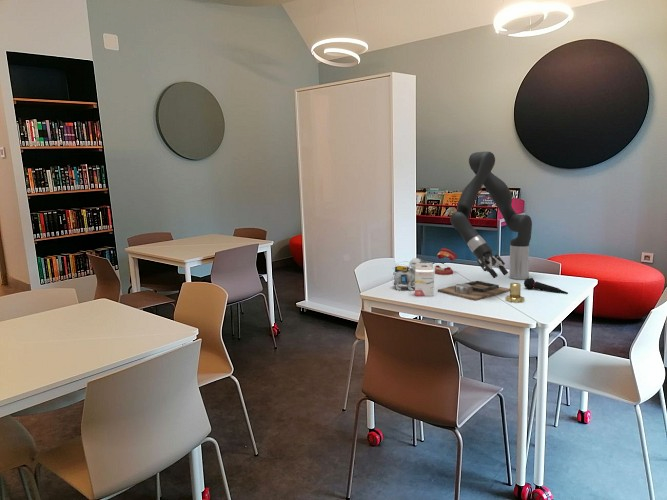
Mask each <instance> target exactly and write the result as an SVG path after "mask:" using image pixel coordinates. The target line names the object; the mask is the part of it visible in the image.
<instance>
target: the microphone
mask: <svg viewBox="0 0 667 500" xmlns="http://www.w3.org/2000/svg"><path fill="white" fill-rule="evenodd" d="M523 285H524V287H525V288H526V289H527V290H531V289H535V290H539V291H544V292H548V293H549V292H550V293H554V294H565V295H568V294H569V292H567V291H565V290H562V289H560V288H558V287H555V286H553V285H550V284H549V285H548V284H546V283H542V282H539V281H535V279H534V278H533V277H530V278H529V277H528V278H527V279H524V281H523Z"/></svg>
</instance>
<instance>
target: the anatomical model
mask: <svg viewBox="0 0 667 500" xmlns="http://www.w3.org/2000/svg"><path fill="white" fill-rule="evenodd" d="M447 257H448V259H449V260H450V261H454V260H457V258H458V255H457V254H456V253H455V252H454V251H452V250H451V249H448V248H445V247H442V248H441V249H440V250H439V252H438V253H437V258H438V259H439V260H442V259H445V258H447ZM453 274H454V271H453V269H452V268H451V267H450V266H447V267H444V268H442V267H441V266H440V265H437V264H436V266H435V267H434V275H440V276H450V275H451V276H452V275H453Z"/></svg>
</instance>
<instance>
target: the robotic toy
mask: <svg viewBox="0 0 667 500" xmlns="http://www.w3.org/2000/svg"><path fill="white" fill-rule="evenodd" d="M405 262H406V263H408V262H409V264H408V265H403V264H400V263H397V265H395V267H392V269H393V270H394V272H393V273H392V275H393V276H392V278H391V279H393V280H394V281H393V285H394V287H395V289H396V291H402V288H401V287H403V286H407V288H408V290H409V291H410V292H413V291H414V288H412V287H413V286H414V287H415V269H416V263H427V260H423V259H421V258H418V257H415V258H412V259H411V260H410V261H406V260H405V261H404V260H403V261H402V263H405ZM421 267H427V266H425V265H423V266H421ZM399 286H401V287H399Z"/></svg>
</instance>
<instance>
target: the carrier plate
mask: <svg viewBox="0 0 667 500" xmlns="http://www.w3.org/2000/svg"><path fill="white" fill-rule="evenodd" d="M437 292H438V293H440V294H441V293H442V294H445V295H450V296H453V297H454V296H455V297H458V298H463V299H466V300H471V301H475V302H476V301H479V300H482V299H483V300H484V299H486V298H491V297H494V296H497V295H501V294H505V293H510V288H508V287H502V286H500V285H499V284H494V283H490V282H485V281H480V280H475V281H473V280H472V281H468V282H465V283H457V284H455V285H451V286H447V287H443V288H439V289H437Z"/></svg>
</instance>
